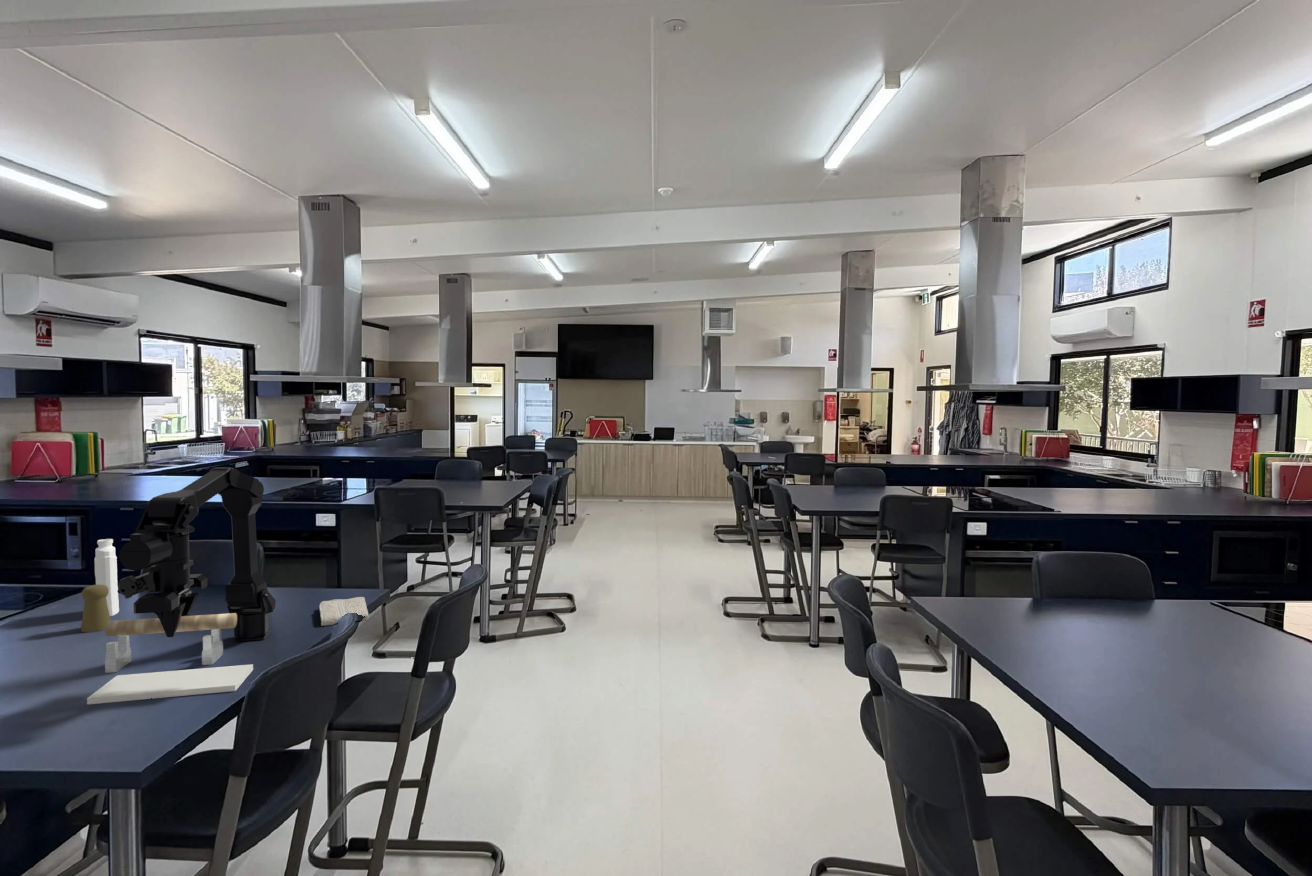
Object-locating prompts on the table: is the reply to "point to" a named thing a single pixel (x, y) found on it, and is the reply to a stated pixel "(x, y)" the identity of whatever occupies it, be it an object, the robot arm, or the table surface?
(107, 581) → the squeeze bottle
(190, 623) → the beech dowel
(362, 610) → the washcloth
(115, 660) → the aluminium cradles
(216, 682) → the cutting board
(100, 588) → the cork
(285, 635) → the table surface
